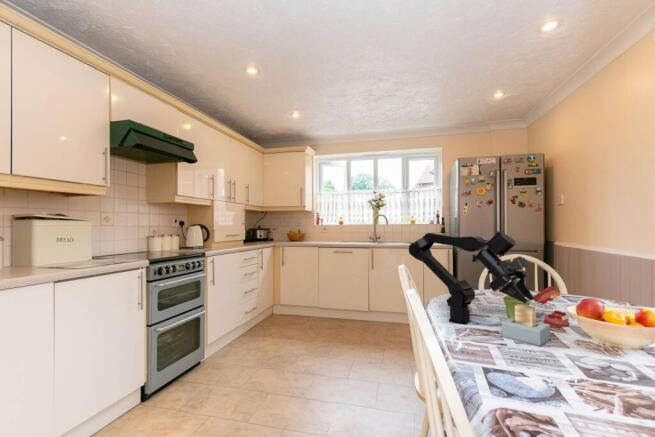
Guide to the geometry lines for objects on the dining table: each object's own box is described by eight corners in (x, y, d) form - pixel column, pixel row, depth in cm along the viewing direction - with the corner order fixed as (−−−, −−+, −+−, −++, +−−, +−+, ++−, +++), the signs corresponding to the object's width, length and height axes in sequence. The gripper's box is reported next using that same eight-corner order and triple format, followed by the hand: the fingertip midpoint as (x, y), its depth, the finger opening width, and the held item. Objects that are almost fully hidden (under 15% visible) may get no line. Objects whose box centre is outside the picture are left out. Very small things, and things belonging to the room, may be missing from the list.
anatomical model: (571, 328, 107) (551, 286, 111) (546, 331, 112) (528, 291, 117) (577, 322, 113) (558, 283, 118) (554, 325, 119) (536, 288, 124)
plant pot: (536, 326, 112) (535, 302, 112) (508, 324, 113) (507, 301, 114) (525, 318, 121) (524, 296, 121) (499, 317, 123) (498, 295, 123)
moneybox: (501, 336, 101) (501, 321, 101) (512, 330, 107) (512, 316, 107) (540, 346, 92) (540, 330, 93) (550, 339, 98) (549, 324, 98)
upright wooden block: (515, 335, 101) (514, 305, 101) (519, 333, 102) (518, 304, 103) (532, 340, 97) (531, 308, 97) (536, 337, 98) (535, 307, 99)
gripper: (498, 250, 98) (539, 290, 89) (521, 247, 109) (559, 282, 100) (475, 271, 104) (510, 311, 95) (498, 267, 115) (532, 301, 106)
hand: (529, 300), depth 99 cm, fingers open, 5 cm apart
